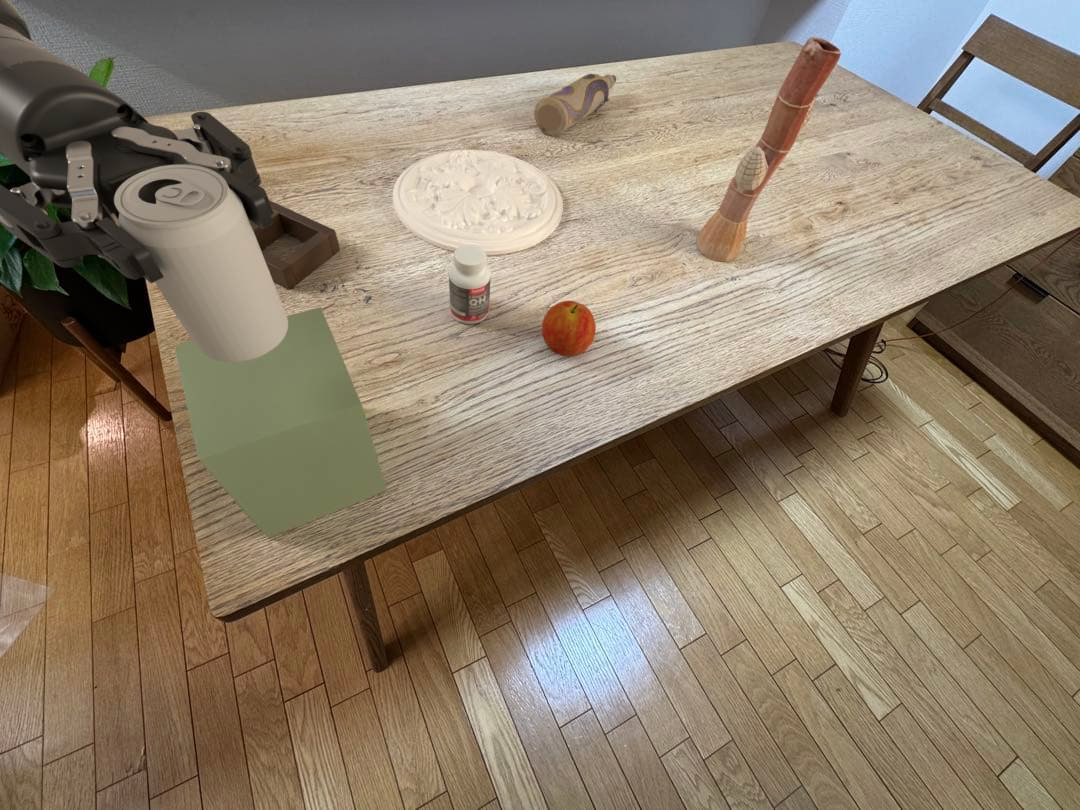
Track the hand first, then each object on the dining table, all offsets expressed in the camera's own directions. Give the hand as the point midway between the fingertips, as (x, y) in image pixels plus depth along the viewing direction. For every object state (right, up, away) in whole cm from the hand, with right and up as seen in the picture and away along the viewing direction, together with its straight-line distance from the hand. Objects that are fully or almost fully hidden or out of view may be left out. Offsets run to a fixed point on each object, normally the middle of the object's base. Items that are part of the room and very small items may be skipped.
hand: (211, 238), depth 30 cm
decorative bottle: (+28, +50, +77) cm, 96 cm away
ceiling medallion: (+9, +24, +56) cm, 62 cm away
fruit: (+22, -2, +40) cm, 46 cm away
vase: (+50, +17, +57) cm, 77 cm away
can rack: (-21, +14, +44) cm, 51 cm away
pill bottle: (+9, +3, +41) cm, 43 cm away
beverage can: (-3, -5, +9) cm, 10 cm away
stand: (-5, -16, +26) cm, 31 cm away
